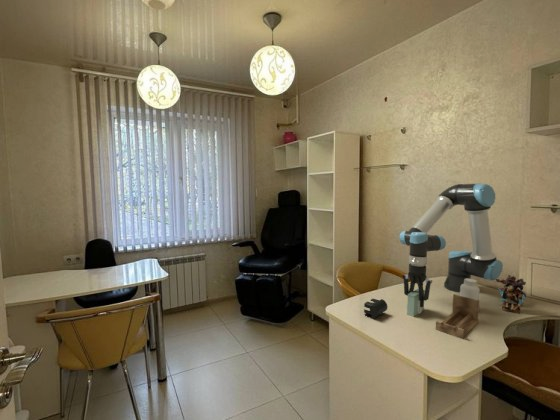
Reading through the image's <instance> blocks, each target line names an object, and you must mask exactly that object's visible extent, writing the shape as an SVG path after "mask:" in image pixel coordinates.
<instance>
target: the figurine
mask: <svg viewBox="0 0 560 420" xmlns="http://www.w3.org/2000/svg"><path fill="white" fill-rule="evenodd" d="M495 281H496V283H501V284H503V287H501V288H500V289H501V291H503V296H501V300H502V299H505V300H504V301H502V302H503V303H502V304H501V309H502V311H503V312H507V313H512V314H520V313H521V310H522V308H521V304H520V305H519V304H518V303H519V299H522V296H523V295H524V296H525V299H526V298H527V293H526V292H524V291H523V290H524V289H525V288H524V286H525V285H526V284H527V283H526V281H525V280H524V278H519V279H517V278H516V276H515V275H510V274H508V277H506V279H504V278H501V279H500V278H497V279H495Z"/></svg>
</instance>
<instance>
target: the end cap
mask: <svg viewBox="0 0 560 420" xmlns="http://www.w3.org/2000/svg"><path fill="white" fill-rule="evenodd" d="M363 307H364V309H363V313H364V315H365V316H364V315H363V316H364V317H366V316H367V317H366V318H369V317H370V318H369V319H372V318H373V319H376V318H377V317H379V316H380V315H383V313H384V312H386V311H387V310H388V304H387V302H386V301H385V300H384V299H382V298H381V299H377V298H372V299H370V301H366V302H364V305H363ZM366 308H367V309H366ZM368 309H369V310H368Z"/></svg>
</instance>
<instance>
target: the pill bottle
mask: <svg viewBox="0 0 560 420" xmlns="http://www.w3.org/2000/svg"><path fill="white" fill-rule="evenodd" d="M477 284H478V281H477V280H476V279H474V278H471V279H468V278H466V279H464V284H462V285H461V286H460V292H459V296H463V297H467V298H471V299H475V300H479V301H480V292H481V291H480V287H479V286H477Z"/></svg>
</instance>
